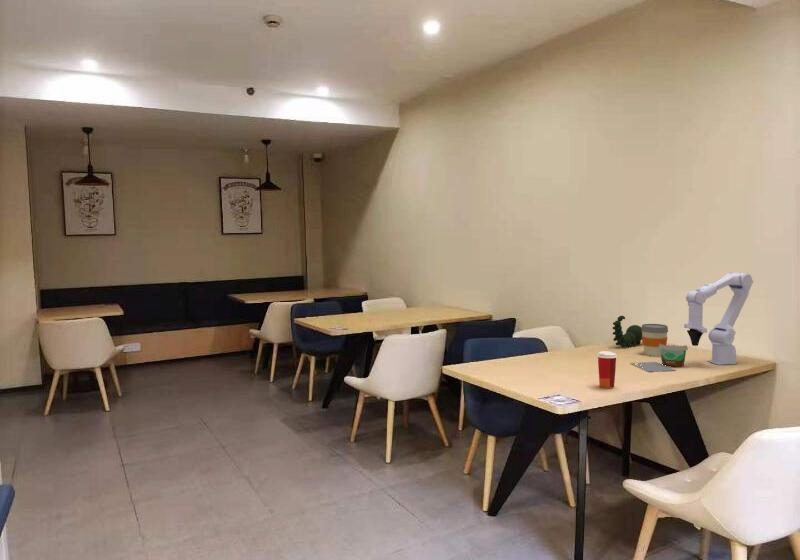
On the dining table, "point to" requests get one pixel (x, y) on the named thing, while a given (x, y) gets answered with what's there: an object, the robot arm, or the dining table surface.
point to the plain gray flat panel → (653, 366)
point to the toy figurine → (627, 334)
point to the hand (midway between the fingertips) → (694, 345)
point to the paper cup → (606, 368)
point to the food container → (673, 355)
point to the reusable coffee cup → (654, 338)
